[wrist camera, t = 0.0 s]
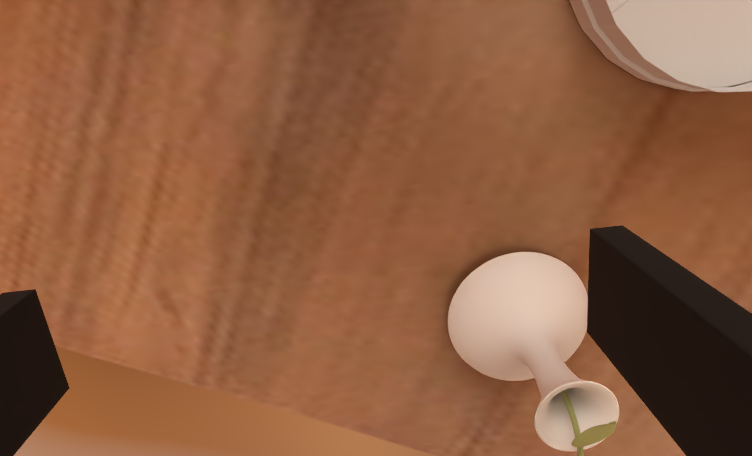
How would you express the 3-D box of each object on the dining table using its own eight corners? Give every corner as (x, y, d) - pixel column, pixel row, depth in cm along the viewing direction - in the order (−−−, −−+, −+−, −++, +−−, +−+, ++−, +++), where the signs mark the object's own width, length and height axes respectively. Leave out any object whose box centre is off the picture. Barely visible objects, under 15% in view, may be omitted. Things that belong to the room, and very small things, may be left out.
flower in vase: (491, 220, 42) (667, 448, 18) (607, 281, 44) (898, 557, 20) (409, 348, 46) (467, 679, 22) (520, 400, 48) (682, 751, 24)
